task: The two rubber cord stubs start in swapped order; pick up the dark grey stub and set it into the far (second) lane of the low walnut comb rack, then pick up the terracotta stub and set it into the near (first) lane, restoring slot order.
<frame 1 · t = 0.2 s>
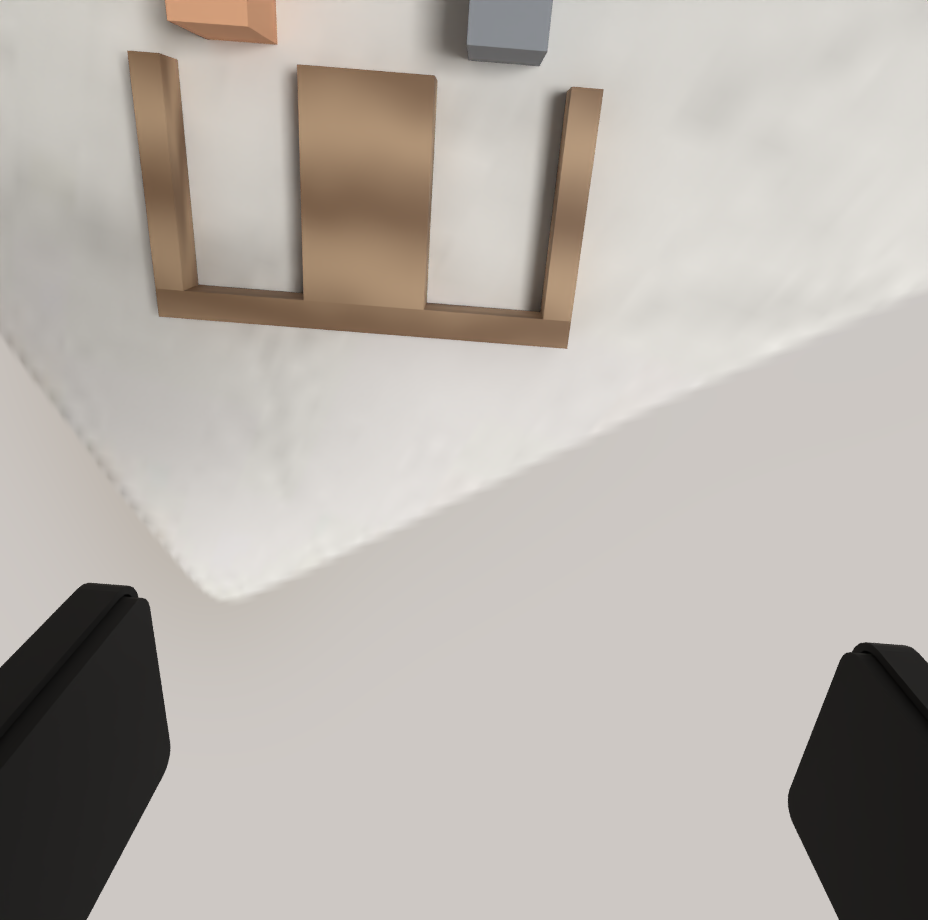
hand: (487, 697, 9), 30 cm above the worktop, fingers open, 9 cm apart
comb rack: (370, 204, 35), on the worktop
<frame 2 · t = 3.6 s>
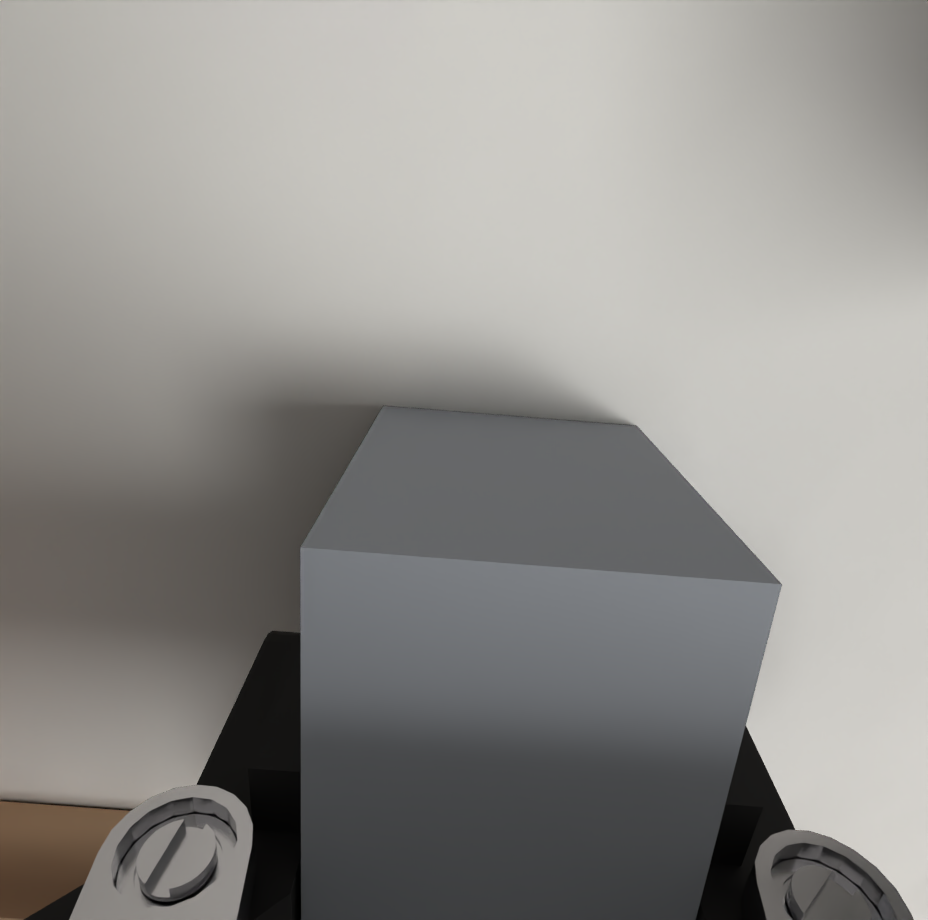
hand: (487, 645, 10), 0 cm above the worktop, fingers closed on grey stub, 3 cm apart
grey stub: (485, 660, 10), on the worktop, tilted 6°, touching gripper
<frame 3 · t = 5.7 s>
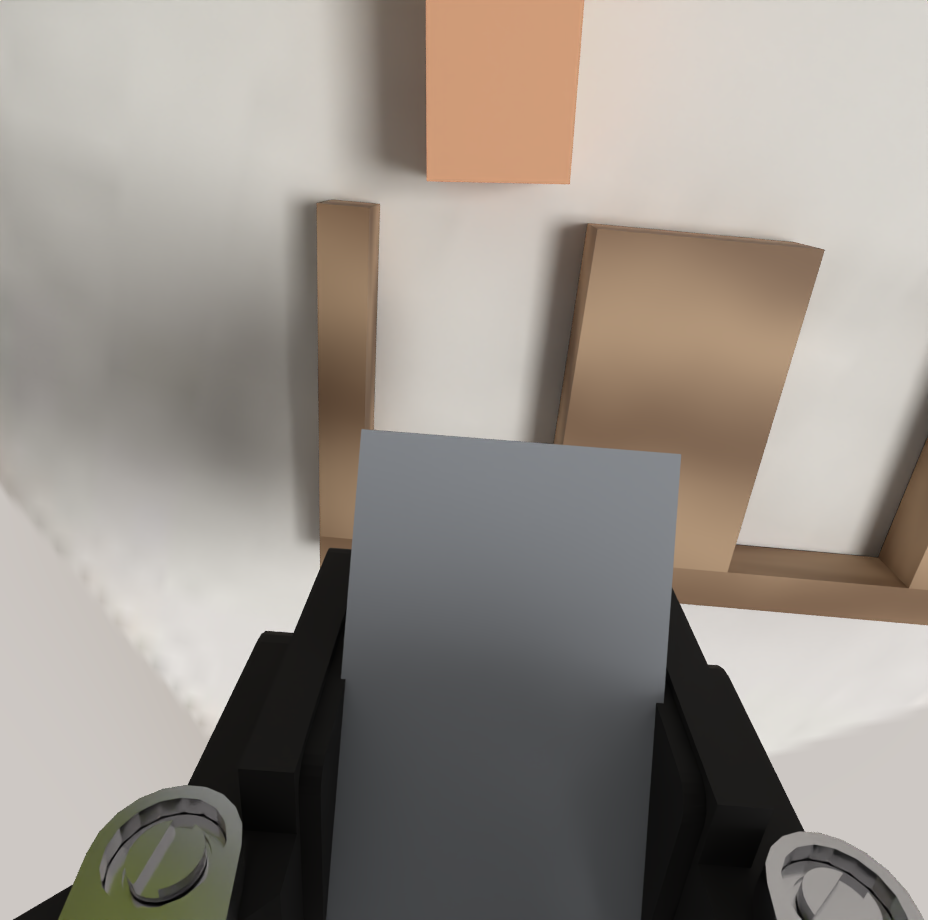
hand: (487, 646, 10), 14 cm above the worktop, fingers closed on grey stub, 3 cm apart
grey stub: (479, 679, 11), point 13 cm above the worktop, tilted 26°, touching gripper
terracotta stub: (500, 24, 18), on the worktop
comb rack: (651, 412, 23), on the worktop
when the fingers open (3 cm above the worktop, at t = 8.1 s): grey stub stays where it is, resting on comb rack.
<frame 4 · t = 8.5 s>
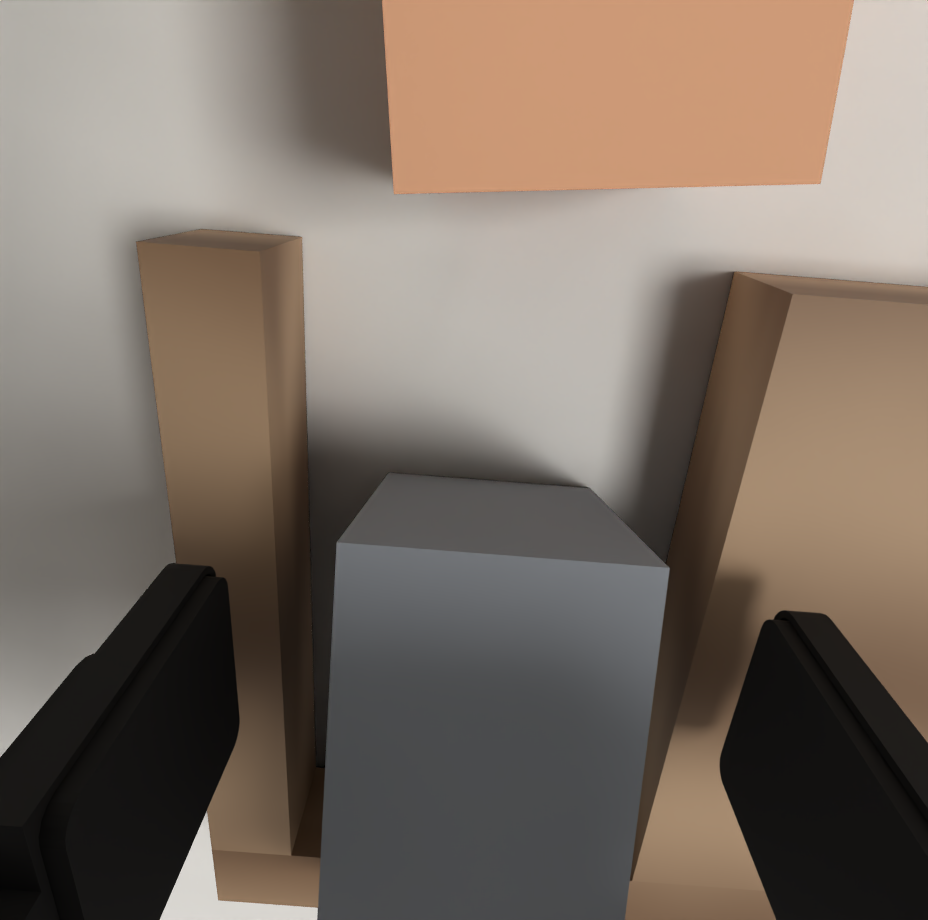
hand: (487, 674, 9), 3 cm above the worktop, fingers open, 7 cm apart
grey stub: (471, 695, 12), point 1 cm above the worktop, tilted 16°, touching comb rack
comb rack: (829, 614, 12), on the worktop
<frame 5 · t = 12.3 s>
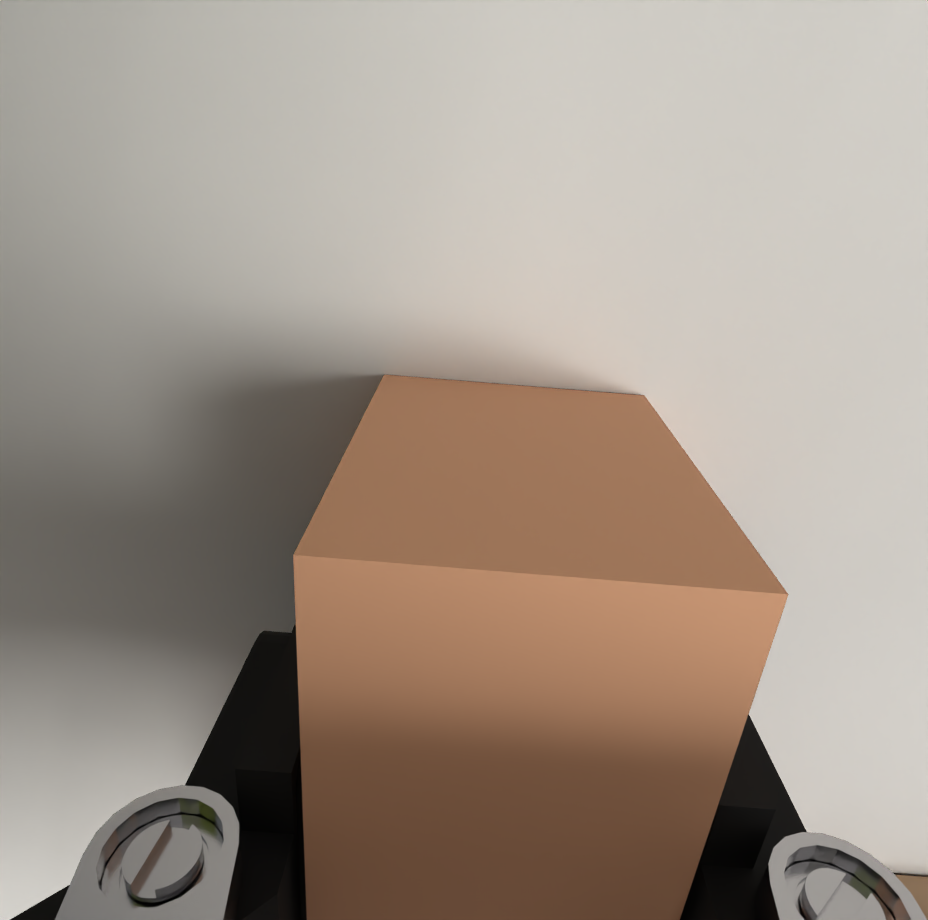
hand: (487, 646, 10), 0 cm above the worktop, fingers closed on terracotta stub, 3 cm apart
terracotta stub: (487, 626, 10), on the worktop, touching gripper
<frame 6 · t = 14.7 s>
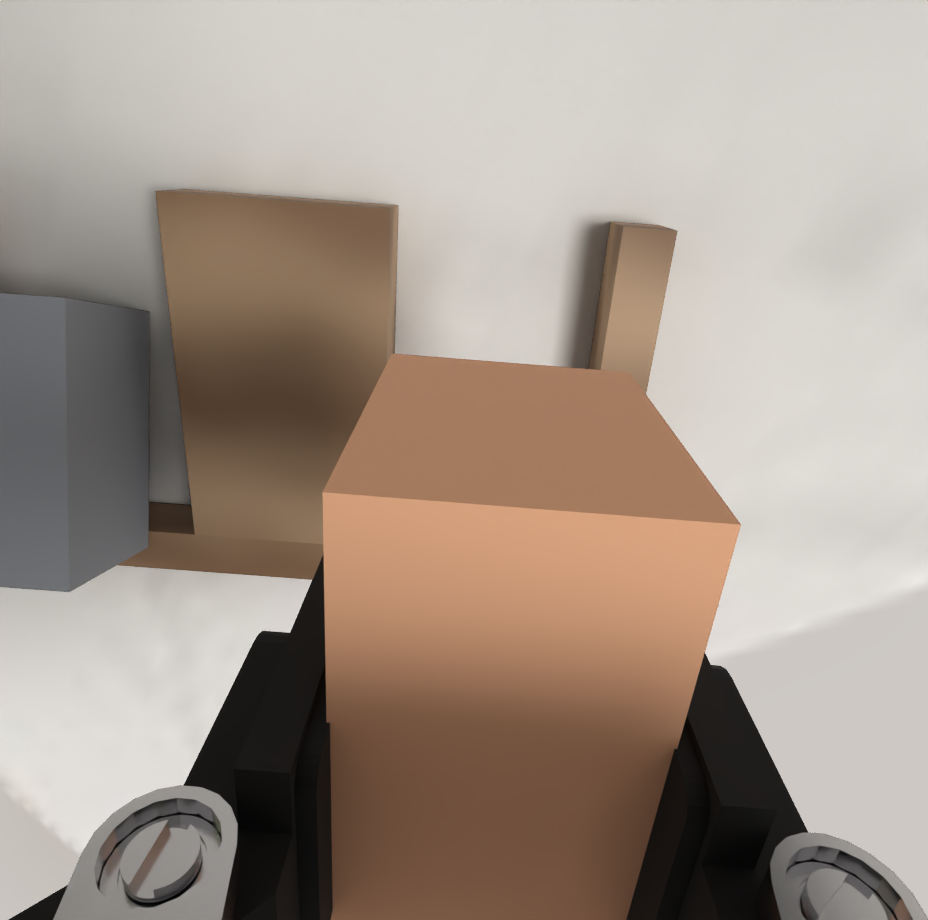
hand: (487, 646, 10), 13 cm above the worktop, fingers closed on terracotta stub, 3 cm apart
grey stub: (97, 428, 22), point 1 cm above the worktop, tilted 16°, touching comb rack
terracotta stub: (486, 589, 11), point 12 cm above the worktop, touching gripper
comb rack: (298, 385, 22), on the worktop
when the fingers open (2 cm above the worktop, at t = 17.0 s): terracotta stub drops 2 cm, resting in comb rack.
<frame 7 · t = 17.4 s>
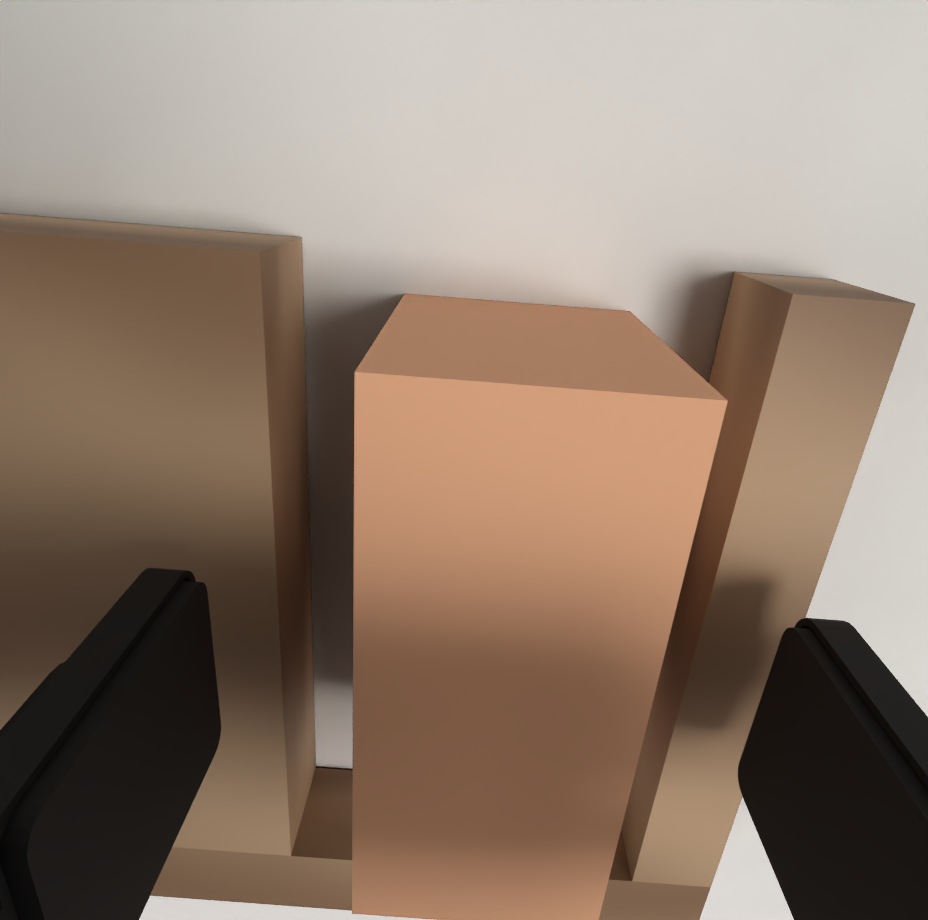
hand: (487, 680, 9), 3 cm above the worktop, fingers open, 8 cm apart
terracotta stub: (493, 523, 12), resting in comb rack
comb rack: (136, 561, 12), on the worktop
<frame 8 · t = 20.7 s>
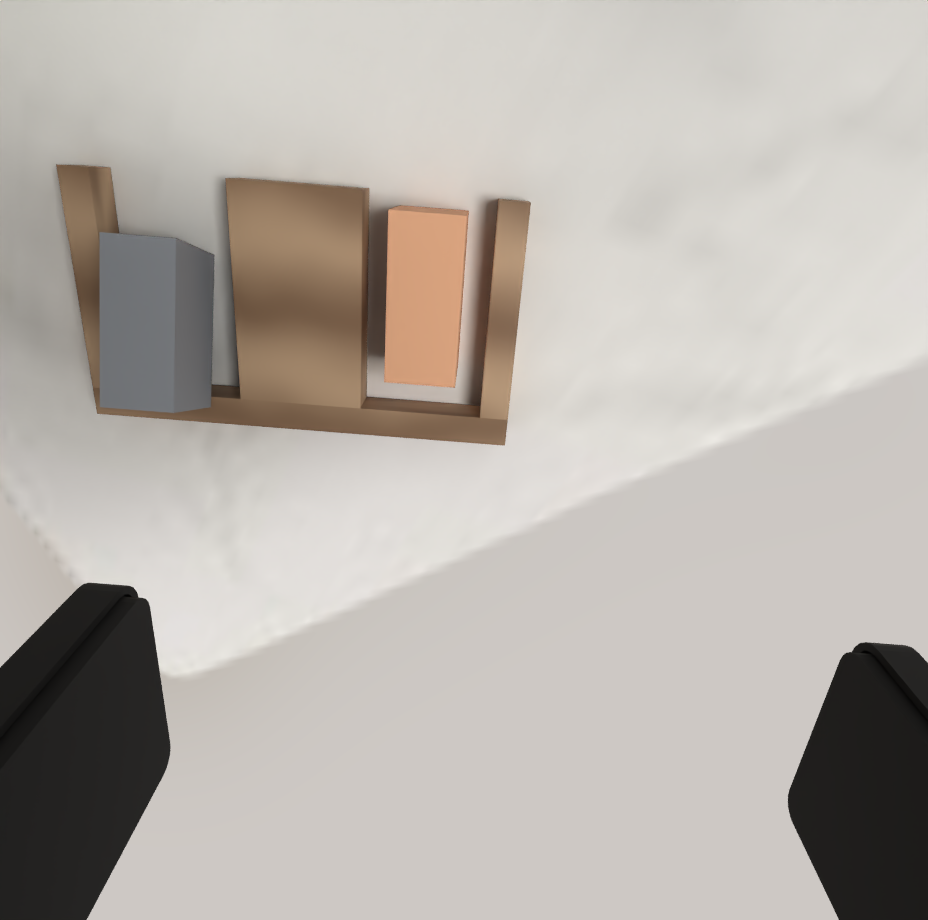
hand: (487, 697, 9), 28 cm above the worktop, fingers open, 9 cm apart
grey stub: (179, 329, 35), point 1 cm above the worktop, tilted 16°, touching comb rack
terracotta stub: (430, 288, 35), resting in comb rack
comb rack: (307, 303, 35), on the worktop
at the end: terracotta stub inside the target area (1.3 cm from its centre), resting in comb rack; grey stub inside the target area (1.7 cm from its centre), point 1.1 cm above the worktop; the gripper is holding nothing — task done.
